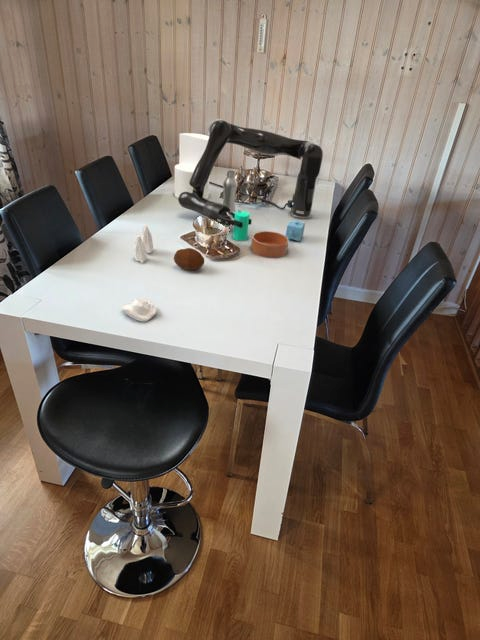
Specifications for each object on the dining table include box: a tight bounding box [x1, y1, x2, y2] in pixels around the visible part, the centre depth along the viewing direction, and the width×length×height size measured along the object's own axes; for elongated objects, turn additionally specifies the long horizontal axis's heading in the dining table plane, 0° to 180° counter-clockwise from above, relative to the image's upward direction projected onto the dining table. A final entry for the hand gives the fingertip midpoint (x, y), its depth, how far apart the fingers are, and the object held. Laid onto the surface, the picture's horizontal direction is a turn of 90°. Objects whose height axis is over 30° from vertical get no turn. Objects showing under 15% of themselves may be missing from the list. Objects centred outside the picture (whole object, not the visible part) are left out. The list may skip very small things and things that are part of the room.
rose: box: [121, 298, 158, 323], centre depth 126 cm, size 10×4×10 cm
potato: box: [173, 247, 205, 271], centre depth 152 cm, size 8×11×8 cm
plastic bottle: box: [222, 170, 238, 212], centre depth 196 cm, size 6×7×20 cm
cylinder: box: [174, 132, 211, 199], centre depth 214 cm, size 17×17×28 cm
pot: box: [250, 230, 290, 259], centre depth 172 cm, size 14×14×5 cm
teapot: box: [285, 219, 306, 243], centre depth 182 cm, size 12×6×8 cm, turn 161°
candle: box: [232, 209, 250, 242], centre depth 178 cm, size 6×6×12 cm
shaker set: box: [133, 224, 154, 264], centre depth 156 cm, size 12×4×11 cm, turn 168°
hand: (246, 223), depth 176 cm, fingers closed on candle, 5 cm apart
